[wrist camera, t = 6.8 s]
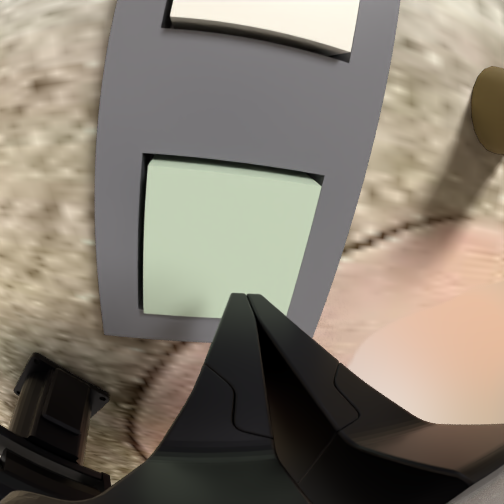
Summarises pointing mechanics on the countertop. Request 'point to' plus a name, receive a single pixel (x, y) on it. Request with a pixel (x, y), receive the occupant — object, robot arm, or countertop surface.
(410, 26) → the countertop surface
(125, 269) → the key panel
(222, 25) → the cream key
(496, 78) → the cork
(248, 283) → the sage key
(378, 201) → the countertop surface
